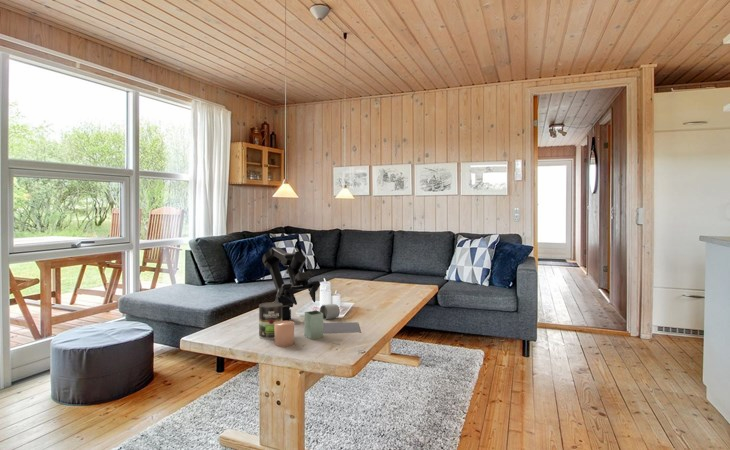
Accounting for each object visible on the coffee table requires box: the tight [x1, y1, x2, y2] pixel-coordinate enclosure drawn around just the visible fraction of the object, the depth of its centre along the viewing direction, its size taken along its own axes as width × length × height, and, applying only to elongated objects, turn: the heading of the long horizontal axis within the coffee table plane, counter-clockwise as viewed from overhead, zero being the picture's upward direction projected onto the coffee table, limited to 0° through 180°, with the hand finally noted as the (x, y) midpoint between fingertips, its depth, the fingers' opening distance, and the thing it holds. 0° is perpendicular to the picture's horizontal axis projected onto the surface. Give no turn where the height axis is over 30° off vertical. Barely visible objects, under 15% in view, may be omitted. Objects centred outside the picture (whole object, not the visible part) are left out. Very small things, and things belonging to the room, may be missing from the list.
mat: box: [323, 321, 361, 334], centre depth 191 cm, size 18×16×1 cm
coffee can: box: [258, 301, 283, 339], centre depth 180 cm, size 10×10×14 cm
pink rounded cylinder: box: [274, 320, 295, 348], centre depth 169 cm, size 8×8×9 cm
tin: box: [304, 309, 324, 340], centre depth 178 cm, size 6×6×11 cm
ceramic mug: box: [319, 303, 341, 321], centre depth 210 cm, size 11×8×8 cm
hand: (305, 303), depth 184 cm, fingers open, 9 cm apart
